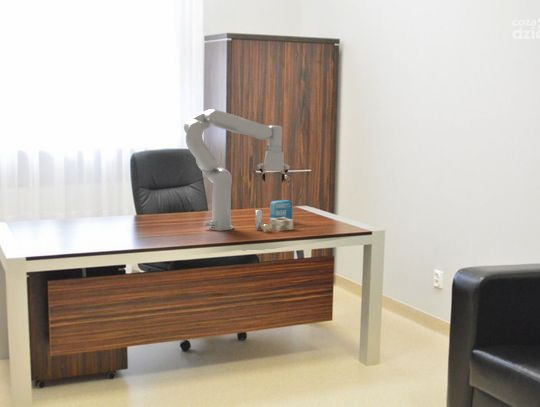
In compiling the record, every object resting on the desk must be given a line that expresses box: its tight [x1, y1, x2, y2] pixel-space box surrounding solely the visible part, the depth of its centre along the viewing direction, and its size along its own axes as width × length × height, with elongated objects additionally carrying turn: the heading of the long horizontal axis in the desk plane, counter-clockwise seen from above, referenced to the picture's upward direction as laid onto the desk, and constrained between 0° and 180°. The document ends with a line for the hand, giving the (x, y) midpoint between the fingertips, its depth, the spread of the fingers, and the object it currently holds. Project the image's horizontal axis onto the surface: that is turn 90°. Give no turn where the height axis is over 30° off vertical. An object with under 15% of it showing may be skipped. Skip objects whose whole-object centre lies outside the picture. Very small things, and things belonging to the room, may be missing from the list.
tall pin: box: [255, 209, 263, 231], centre depth 375 cm, size 3×3×10 cm
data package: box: [269, 199, 293, 220], centre depth 395 cm, size 12×4×12 cm, turn 126°
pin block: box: [269, 217, 294, 232], centre depth 378 cm, size 9×9×5 cm
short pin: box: [262, 223, 271, 234], centre depth 369 cm, size 3×3×4 cm
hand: (273, 181), depth 382 cm, fingers open, 9 cm apart
